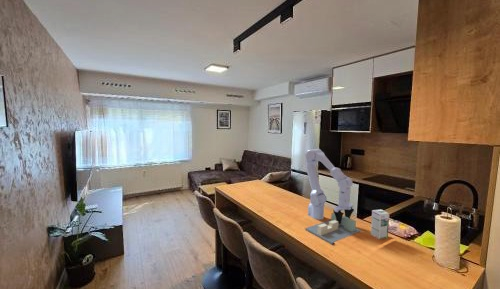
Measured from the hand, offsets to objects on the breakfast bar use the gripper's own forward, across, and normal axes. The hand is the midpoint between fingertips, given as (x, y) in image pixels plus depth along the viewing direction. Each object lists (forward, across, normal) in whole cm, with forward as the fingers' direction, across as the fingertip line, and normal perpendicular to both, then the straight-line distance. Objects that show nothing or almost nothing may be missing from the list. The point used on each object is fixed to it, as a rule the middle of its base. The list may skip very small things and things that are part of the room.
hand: (343, 221), depth 131 cm
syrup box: (+4, +7, -17) cm, 19 cm away
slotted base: (+4, -8, 0) cm, 9 cm away
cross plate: (+3, 0, 0) cm, 3 cm away
